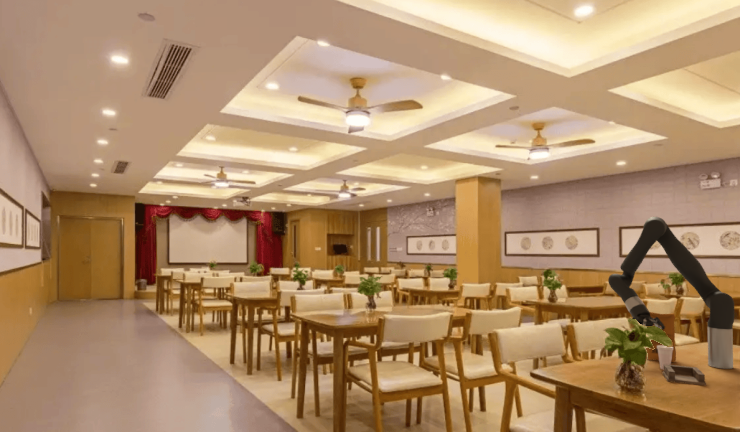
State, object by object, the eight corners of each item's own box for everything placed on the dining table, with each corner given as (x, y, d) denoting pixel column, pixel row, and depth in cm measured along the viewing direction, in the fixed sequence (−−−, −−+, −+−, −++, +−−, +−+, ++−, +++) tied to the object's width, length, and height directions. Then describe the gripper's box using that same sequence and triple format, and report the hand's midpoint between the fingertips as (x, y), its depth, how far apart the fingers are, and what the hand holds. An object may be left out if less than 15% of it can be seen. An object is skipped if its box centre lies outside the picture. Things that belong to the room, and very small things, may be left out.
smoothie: (676, 371, 215) (675, 338, 216) (659, 370, 217) (659, 337, 217) (670, 367, 222) (670, 335, 222) (654, 366, 223) (654, 334, 224)
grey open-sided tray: (662, 373, 211) (662, 363, 211) (698, 377, 206) (698, 367, 207) (667, 381, 199) (667, 371, 199) (706, 385, 194) (706, 375, 195)
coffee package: (646, 355, 244) (645, 310, 245) (676, 359, 237) (675, 312, 238) (645, 359, 235) (644, 312, 236) (676, 363, 229) (675, 315, 230)
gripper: (628, 303, 232) (647, 333, 220) (654, 303, 235) (674, 332, 223) (620, 313, 237) (638, 343, 225) (645, 313, 240) (665, 342, 228)
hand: (656, 337), depth 224 cm, fingers open, 8 cm apart
